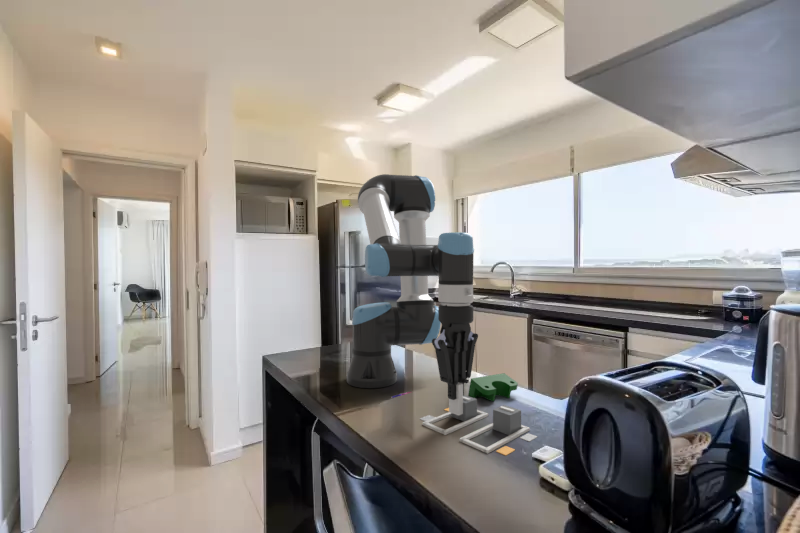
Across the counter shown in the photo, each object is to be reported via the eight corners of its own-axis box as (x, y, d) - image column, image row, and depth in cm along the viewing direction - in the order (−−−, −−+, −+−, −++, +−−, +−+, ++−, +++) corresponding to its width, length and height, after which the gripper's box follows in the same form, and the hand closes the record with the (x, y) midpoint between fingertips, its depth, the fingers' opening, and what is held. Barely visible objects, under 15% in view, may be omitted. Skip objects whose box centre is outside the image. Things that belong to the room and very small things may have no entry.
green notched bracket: (486, 422, 94) (480, 394, 90) (471, 408, 99) (465, 381, 96) (522, 398, 98) (517, 370, 94) (506, 386, 103) (501, 360, 100)
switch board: (407, 425, 81) (407, 418, 81) (460, 405, 93) (460, 398, 93) (503, 469, 63) (503, 460, 63) (554, 437, 75) (554, 429, 75)
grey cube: (493, 429, 77) (492, 408, 77) (504, 423, 79) (504, 403, 79) (510, 435, 74) (510, 413, 74) (521, 430, 76) (521, 408, 76)
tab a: (451, 416, 83) (451, 397, 83) (462, 412, 86) (462, 393, 86) (465, 422, 80) (465, 401, 80) (477, 417, 83) (477, 397, 83)
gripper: (449, 307, 74) (449, 426, 74) (488, 303, 83) (488, 410, 83) (422, 304, 80) (422, 415, 80) (461, 301, 89) (461, 401, 88)
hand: (455, 412), depth 81 cm, fingers closed
